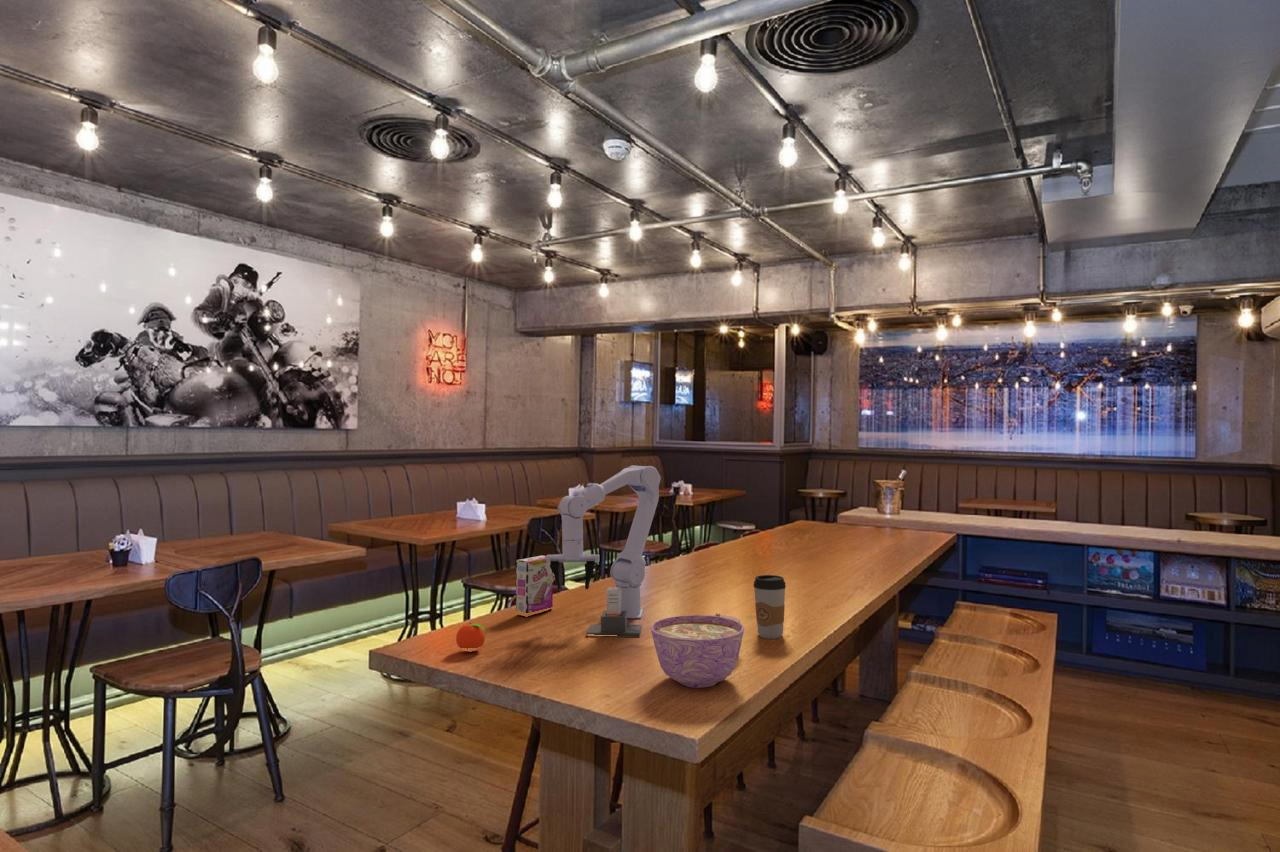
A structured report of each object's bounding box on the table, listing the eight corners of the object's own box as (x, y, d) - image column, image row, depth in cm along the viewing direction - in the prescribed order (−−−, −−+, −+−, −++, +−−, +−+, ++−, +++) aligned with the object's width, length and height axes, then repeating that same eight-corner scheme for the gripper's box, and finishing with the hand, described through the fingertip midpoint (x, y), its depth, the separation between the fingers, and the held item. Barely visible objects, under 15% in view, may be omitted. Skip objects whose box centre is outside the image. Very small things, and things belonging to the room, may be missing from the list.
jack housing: (590, 628, 194) (590, 608, 194) (641, 628, 193) (641, 609, 193) (586, 636, 186) (586, 616, 186) (639, 636, 185) (639, 616, 185)
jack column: (608, 618, 191) (607, 587, 192) (622, 618, 191) (621, 587, 191) (606, 621, 188) (606, 590, 188) (620, 621, 187) (620, 590, 188)
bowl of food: (670, 662, 164) (669, 611, 164) (755, 671, 156) (754, 619, 156) (636, 691, 145) (635, 634, 146) (731, 703, 138) (730, 644, 138)
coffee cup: (747, 636, 184) (746, 578, 184) (765, 629, 190) (764, 573, 190) (775, 642, 178) (774, 582, 179) (792, 634, 185) (791, 577, 185)
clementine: (494, 649, 176) (493, 620, 176) (480, 657, 169) (480, 627, 170) (465, 646, 178) (465, 618, 178) (450, 655, 172) (450, 625, 172)
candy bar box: (527, 618, 206) (527, 561, 206) (515, 615, 209) (514, 560, 209) (554, 610, 215) (553, 556, 215) (542, 608, 218) (541, 554, 218)
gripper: (543, 541, 193) (544, 591, 193) (596, 541, 192) (597, 591, 192) (549, 537, 200) (549, 586, 200) (600, 537, 199) (600, 586, 199)
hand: (573, 588), depth 196 cm, fingers open, 7 cm apart
